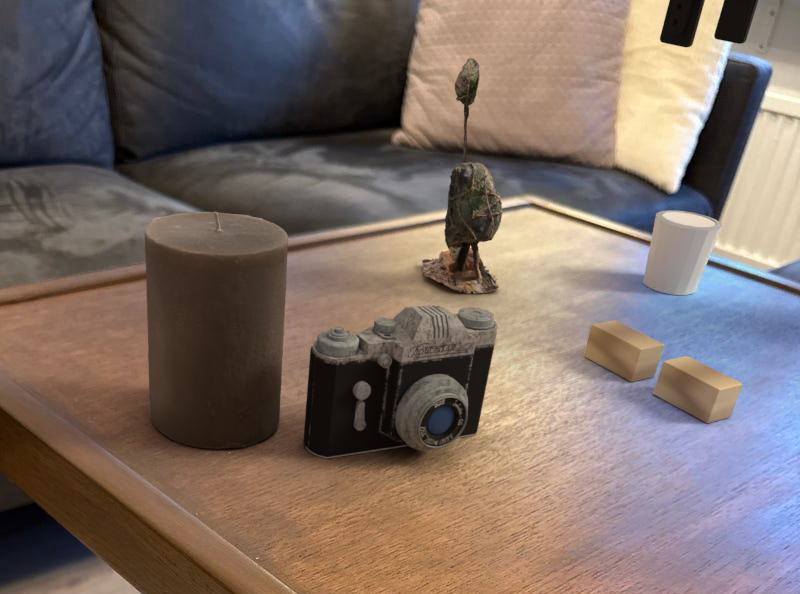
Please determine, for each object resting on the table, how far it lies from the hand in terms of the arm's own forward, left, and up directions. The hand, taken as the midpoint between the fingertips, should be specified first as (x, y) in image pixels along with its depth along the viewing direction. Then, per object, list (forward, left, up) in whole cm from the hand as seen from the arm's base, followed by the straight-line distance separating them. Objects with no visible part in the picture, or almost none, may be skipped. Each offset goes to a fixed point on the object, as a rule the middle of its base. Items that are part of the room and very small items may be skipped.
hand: (702, 42), depth 93 cm
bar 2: (+6, +31, -22) cm, 39 cm away
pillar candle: (+46, +37, -23) cm, 63 cm away
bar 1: (+10, +24, -22) cm, 34 cm away
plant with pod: (+21, +4, -23) cm, 31 cm away
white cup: (-3, +1, -23) cm, 23 cm away
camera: (+32, +40, -23) cm, 56 cm away
